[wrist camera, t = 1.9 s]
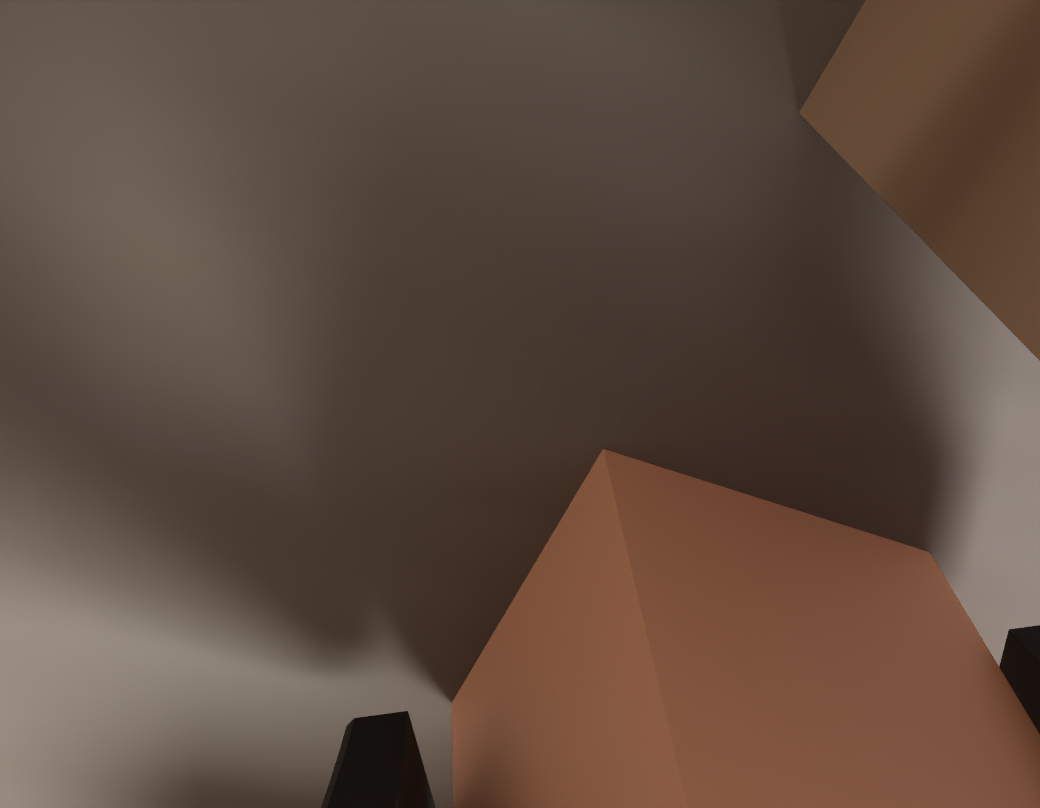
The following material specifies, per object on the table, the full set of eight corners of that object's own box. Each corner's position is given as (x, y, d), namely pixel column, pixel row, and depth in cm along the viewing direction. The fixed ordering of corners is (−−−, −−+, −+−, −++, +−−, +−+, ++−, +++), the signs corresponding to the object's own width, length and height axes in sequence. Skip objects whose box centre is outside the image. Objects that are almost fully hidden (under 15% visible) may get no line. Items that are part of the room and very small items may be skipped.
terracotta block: (927, 547, 12) (1146, 911, 8) (739, 761, 14) (846, 1124, 10) (601, 444, 11) (691, 819, 7) (451, 698, 13) (457, 1083, 9)
